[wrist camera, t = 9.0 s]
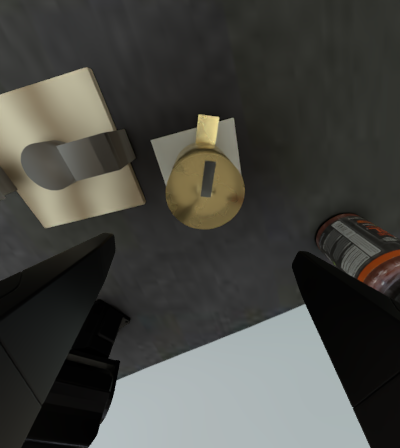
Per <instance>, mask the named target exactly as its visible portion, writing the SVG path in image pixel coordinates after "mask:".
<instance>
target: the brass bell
mask: <svg viewBox="0 0 400 448" xmlns="http://www.w3.org/2000/svg"><path fill="white" fill-rule="evenodd" d="M218 123H219V117H215V116H207V115H200V114H198V123H197V133H196V143H192V144H190V145H188V146H186V147H185V148H184V149H183V150H182V151H181V152H180V153H179V155H178V156H177V158H176V161H175V164H174V166H173V169H172V171H171V174H170V176H169V179H168V181H167V185H166V200H167V204H168V207H169V209H170V211H171V212H172V214H173V215H174V216H175V217H176V218H177V219H178V220H179V221H180V222H182V223H183V224H185V225H187V226H189V227H192V228H196V229H212V228H216V227H219V226H221V225H224V224H225V223H227V222H228V221H230V220H231V219H232V218H233V217H234V216H235V215H236V214H237V213H238V211H239V209H240V208H241V206H242V203H243V200H244V195H245V187H244V182H243V178H242V176H241V174H240V172H239V171H238V169H237V168H236V167H235V166H234V164H233V163H232V162H231V161H230V160H229V159H228V158H227V156H226V155H225V154H224V153H223V152H222V151H221V150H220V149H219V148H218V147H217V146H215V143H216V136H217V130H218Z"/></svg>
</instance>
